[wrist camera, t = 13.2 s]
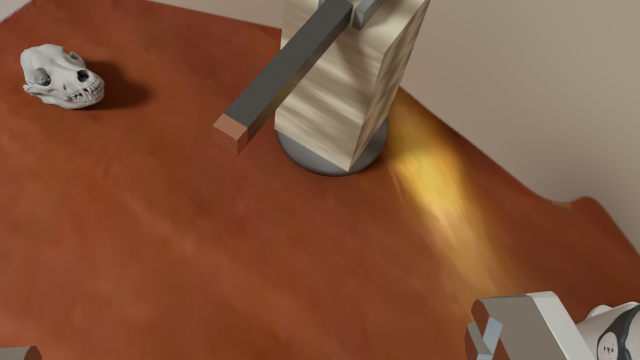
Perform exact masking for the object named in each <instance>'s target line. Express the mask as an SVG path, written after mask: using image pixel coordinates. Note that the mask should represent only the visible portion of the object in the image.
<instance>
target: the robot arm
mask: <svg viewBox="0 0 640 360" xmlns="http://www.w3.org/2000/svg"><path fill="white" fill-rule="evenodd" d="M471 313H472V315H473V317H474V321H473V322H471V323H470V324H469V325H468V326H467V329H466V334H465V351H466V355H467V359H468V360H640V303H639V304H638V303H637V302H629V303H626V304H623V305H621V306H618V307H615V308H612V307H609V306H606V305H600V306H597V307H595V308H594V309H593V310H592V311H591V312H590V313H589V315H588V316H587V318H586V319H585V320H584V321H582V322H580V323H578V324H576V325H575V324H574V322H573V321H572V319H571V318H570V316H569V314H568V313H567V311H566V310H565V308H564V306H563V305H562V303H561V301H560V300H559V298H558V297H557V295H556V294H554V293H553V292H552V291H547V292H538V293H529V294H514V295H506V296H498V297H489V298H481V299H477V300H476V301H475V302H474V303H473V306H472V310H471ZM41 359H42V356H41V354H40V352H39V350H38V348H37V346H29V347H17V348H4V349H0V360H41Z"/></svg>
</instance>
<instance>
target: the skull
mask: <svg viewBox="0 0 640 360" xmlns="http://www.w3.org/2000/svg"><path fill="white" fill-rule="evenodd" d="M63 49H64V48H63V47H61V46H57V45H53V44H45V45H42V46H39V47H32V48H29V49H26V50H24V52H23V53H22V54H21V65H22V67H23V70H24V74H25V80H26V82H27V83H28V84H29V85H24V86H23V88H24V90H25V91H26V92H27V93H31V95H33V96H37V97H40V98H41V99H42V101H43V102H44V103H47V104H54V105H59V106H60V107H62V108H65V109H75V108H82V107H86V106H89V105H92V104H95V103H97V102H99V101H100V100H101V99H102V98H103V96H104V85H105V83H104V81H103V80H102V79H101V78H100V77H99V76H98V75H97V74H95V73H93V72H91V71H90V70H88V69H86V66H85V63H84V61H83V59H82V58H81V57H80V56H78V55H77V54H76V53H75V52H71V53H70V54H69V55H68V54H67V53H64V52H63ZM49 82H51V84H50V85H49ZM98 84H99V85H98ZM48 85H49V86H48ZM97 86H98V87H97ZM84 89H87V90H88V91H89V92H87V91H85V90H84ZM80 93H82V94H83V96H79V95H80ZM75 94H77V97H76V96H75Z"/></svg>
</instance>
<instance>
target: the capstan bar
mask: <svg viewBox="0 0 640 360" xmlns="http://www.w3.org/2000/svg"><path fill="white" fill-rule="evenodd" d="M352 10H353V4H351V3H350V2H348V1H346V0H325V2H324V3H323V4H322V5H321V6H320V7H319V8H318V9H317V10H316V12H315V13H314V14H313V15H312V16H311V17H310V18H309V19H308V20H307V21H306V23H305V24H304V25H303V26H302V27H301V28H300V29H299V30H298V31H297V33H296V34H295V35H294V36H293V37H292V38H291V39H290V40H289V41H288V42H287V44H286V45H285V46H284V47H283V48H282V49H281V50H280V51H279V52H278V54H277V55H276V56H275V57H274V58H273V59H272V60H271V61H270V62H269V63H268V65H267V66H266V67H265V68H264V69H263V70H262V71H261V72H260V73H259V75H258V76H257V77H256V78H255V79H254V80H253V81H252V82H251V83H250V85H249V86H248V87H247V88H246V89H245V90H244V91H243V92H242V93H241V94H240V96H239V97H238V98H237V99H236V100H235V101H234V102H233V103H232V104H231V106H230V107H229V108H228V109H227V110H226V111H225V112H224V113H223V114H222V115H221V117H220V118H219V119H218V120H217V121H216V122H215V123H214V124H213V136H214V142H215V143H217V144H219V145H220V146H222V147H224V148H225V149H227V150H229V151H230V152H232V153H234V154H235V155H237V156H238V155H239V154H240V152H241V151H242V150H243V149H244V148H245V147H246V145H247V144H248V143H249V142H250V141H251V139H252V138H253V137H254V136H255V135H256V133H257V132H258V131H259V130H260V129H261V128H262V126H263V125H264V124H265V123H266V122H267V120H268V119H269V118H270V117H271V116H272V114H273V113H274V112H275V111H276V110H277V109H278V107H279V106H280V105H281V104H282V103H283V101H284V100H285V99H286V98H287V97H288V95H289V94H290V93H291V92H292V91H293V90H294V88H295V87H296V86H297V85H298V84H299V82H300V81H301V80H302V79H303V78H304V77H305V75H306V74H307V73H308V72H309V71H310V69H311V68H312V67H313V66H314V65H315V63H316V62H317V61H318V60H319V59H320V58H321V56H322V55H323V54H324V53H325V52H326V50H327V49H328V48H329V47H330V46H331V44H332V43H333V42H334V41H335V40H336V39H337V37H338V36H339V35H340V34H341V33H342V31H343V30H344V29H345V28H346V27H347V26H348V24H349V23H350V19H351V14H352Z"/></svg>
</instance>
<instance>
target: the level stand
mask: <svg viewBox="0 0 640 360" xmlns="http://www.w3.org/2000/svg"><path fill="white" fill-rule="evenodd" d="M346 1H348V2H350V3H351V4H353V10H352V14H351V19H350V23H349V24H348V26H347V27H346V28H345V29H344V30H343V31H342V33H341V34H340V35H339V36H338V37H337V39H336V40H335V41H334V42H333V43H332V44H331V46H330V47H329V48H328V49H327V50H326V52H325V53H324V54H323V55H322V56H321V58H320V59H319V60H318V61H317V62H316V63H315V65H314V66H313V67H312V68H311V69H310V71H309V72H308V73H307V74H306V75H305V77H304V78H303V79H302V80H301V81H300V82H299V84H298V85H297V86H296V87H295V88H294V90H293V91H292V92H291V93H290V94H289V95H288V97H287V98H286V99H285V100H284V101H283V103H282V104H281V105H280V106H279V107H278V109H277V110H276V115H275V128H274V129H275V130H276V132H277V137H278V141H279V143H280V145H281V147H282V149H283V151H284V152H285V153H286V155H287V156H288V157H289V158H290V159H291V160H292V161H293V162H294V163H296V164H297V165H299V166H300V167H301V168H303V169H305V170H307V171H309V172H312V173H315V174H318V175H322V176H329V177H340V176H347V175H352V174H355V173H357V172H360V171H362V170H364V169H365V168H367V167H368V166H370V165H371V164H372V163H373V162H374V161H375V160H376V159H377V157H378V156H379V154H380V152H381V151H382V148H383V145H384V143H385V140H386V137H387V133H388V123H387V115H388V114H389V112H390V109H391V106H392V103H393V101H394V98H395V95H396V92H397V90H398V87H399V84H400V82H401V79H402V76H403V73H404V71H405V68H406V65H407V63H408V60H409V57H410V54H411V52H412V49H413V46H414V43H415V41H416V38H417V35H418V33H419V30H420V27H421V24H422V22H423V19H424V16H425V14H426V11H427V8H428V5H429V3H430V0H346ZM324 2H325V0H284V12H283V25H282V37H281V49H282V48H283V47H284V46H285V45H286V44H287V42H288V41H289V40H290V39H291V38H292V37H293V36H294V35H295V34H296V33H297V31H298V30H299V29H300V28H301V27H302V26H303V25H304V24H305V23H306V21H307V20H308V19H309V18H310V17H311V16H312V15H313V14H314V13H315V12H316V10H317V9H318V8H319V7H320V6H321V5H322V4H323V3H324Z"/></svg>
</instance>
